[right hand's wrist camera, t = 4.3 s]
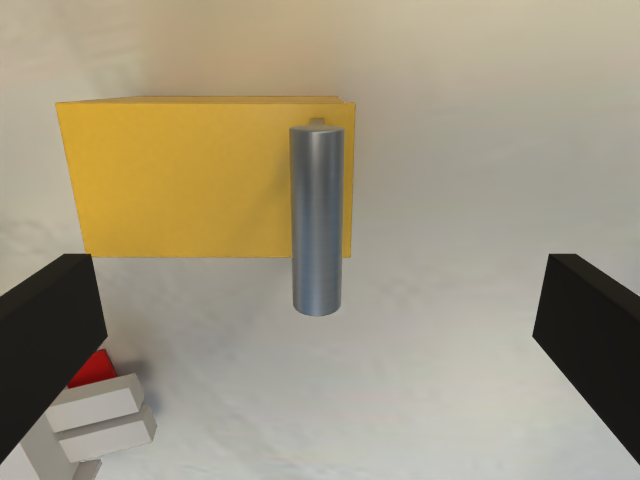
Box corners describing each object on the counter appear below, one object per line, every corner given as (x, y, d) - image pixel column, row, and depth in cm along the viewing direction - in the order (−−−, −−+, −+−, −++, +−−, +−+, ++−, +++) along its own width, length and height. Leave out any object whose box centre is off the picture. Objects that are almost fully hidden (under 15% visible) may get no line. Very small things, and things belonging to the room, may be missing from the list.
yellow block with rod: (353, 102, 24) (372, 113, 15) (349, 251, 27) (363, 329, 19) (66, 101, 24) (-75, 112, 15) (95, 250, 27) (-9, 328, 18)
